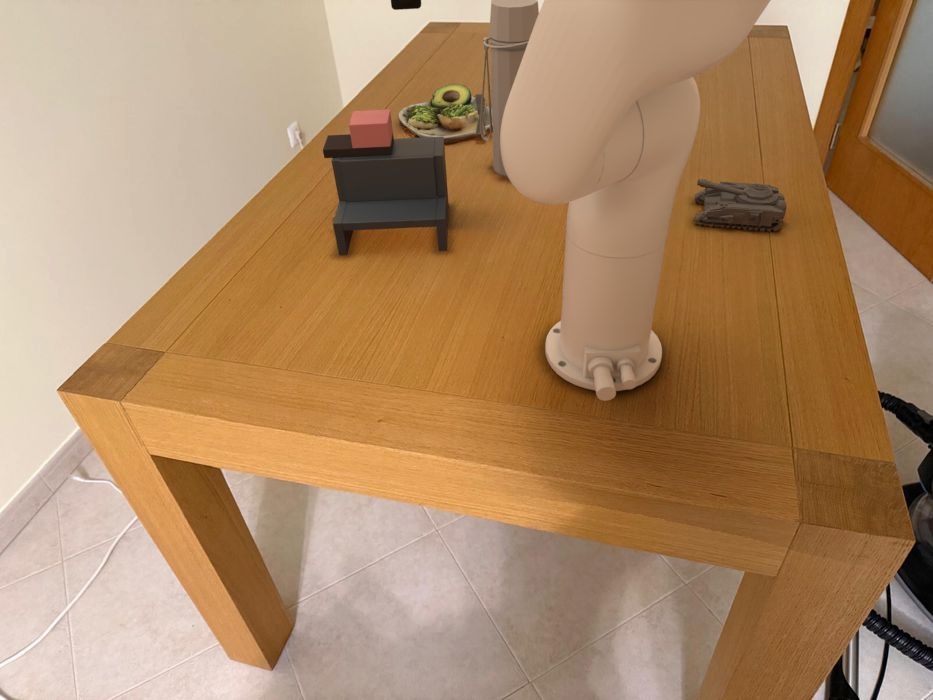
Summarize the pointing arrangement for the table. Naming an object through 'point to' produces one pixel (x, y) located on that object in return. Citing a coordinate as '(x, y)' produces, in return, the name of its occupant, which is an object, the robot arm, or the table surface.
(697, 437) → the table surface
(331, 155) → the pink cube on slab
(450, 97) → the salad plate
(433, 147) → the bench
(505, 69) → the water bottle
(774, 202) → the tank toy
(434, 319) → the table surface
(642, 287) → the robot arm
